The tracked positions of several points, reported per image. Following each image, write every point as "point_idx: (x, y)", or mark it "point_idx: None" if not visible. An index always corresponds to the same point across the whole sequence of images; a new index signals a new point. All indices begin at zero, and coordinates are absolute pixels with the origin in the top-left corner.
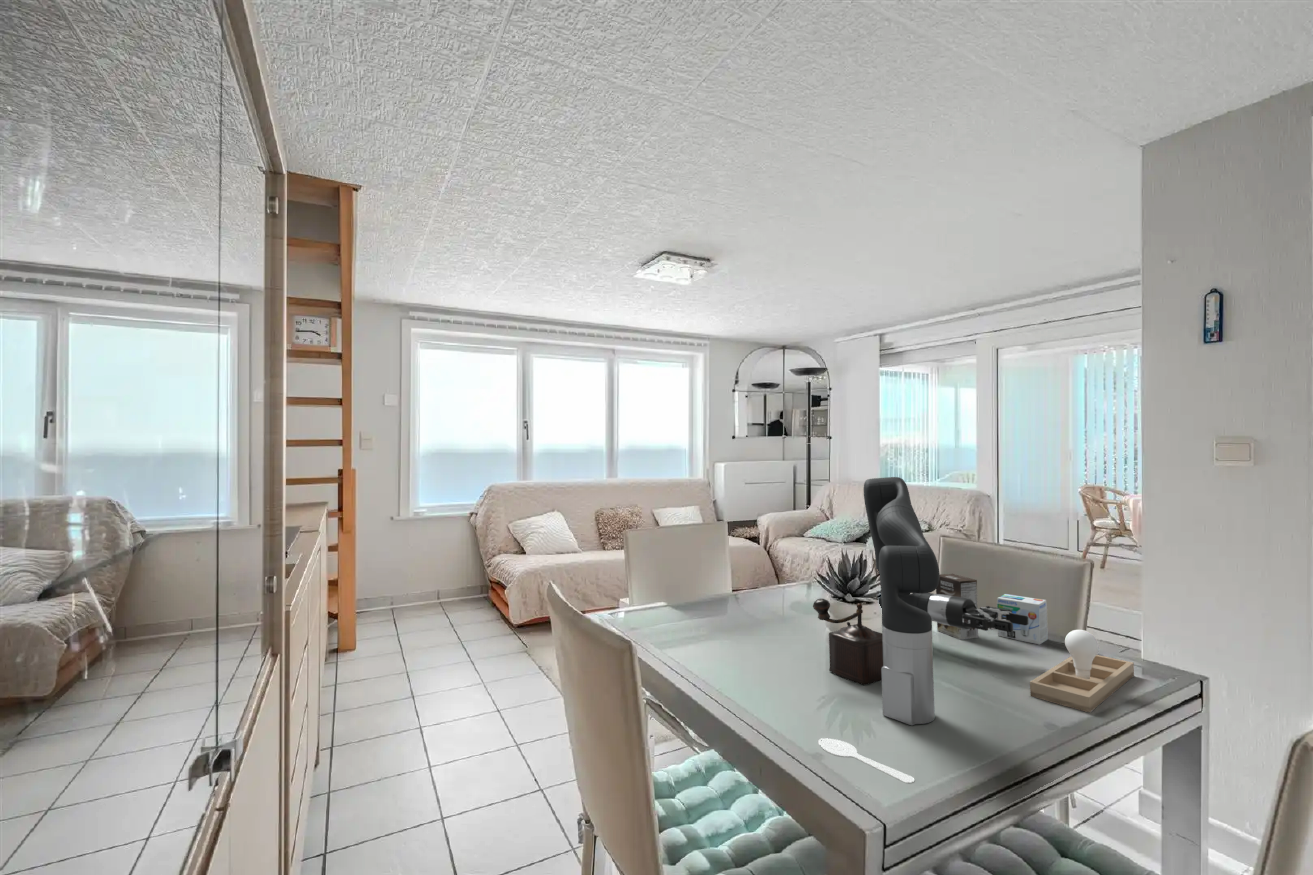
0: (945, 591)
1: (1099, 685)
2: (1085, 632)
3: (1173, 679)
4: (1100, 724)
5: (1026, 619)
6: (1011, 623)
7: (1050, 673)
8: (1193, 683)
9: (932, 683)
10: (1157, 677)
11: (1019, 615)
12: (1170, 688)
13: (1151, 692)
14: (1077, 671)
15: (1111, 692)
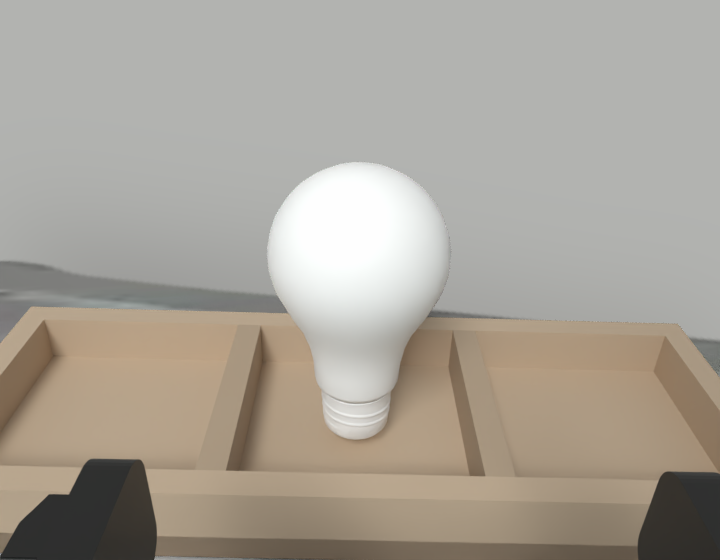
0: None
1: (497, 326)
2: (378, 164)
3: (20, 292)
4: (717, 343)
5: (144, 488)
6: (696, 474)
7: (549, 478)
8: (40, 264)
9: None
10: (20, 318)
11: (104, 544)
12: (147, 288)
13: (239, 309)
14: (386, 402)
15: None
